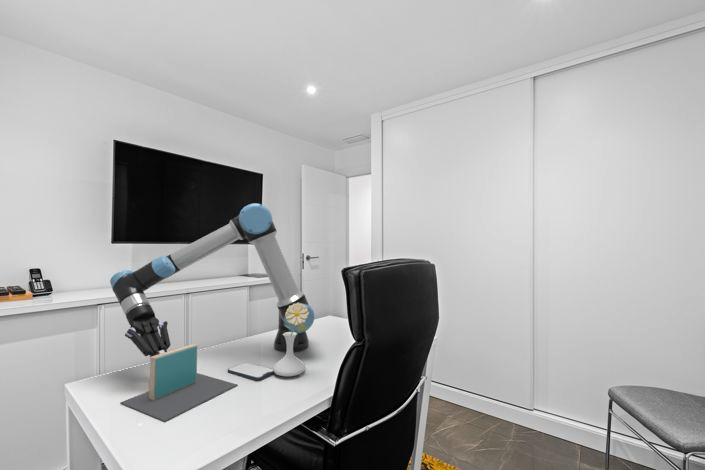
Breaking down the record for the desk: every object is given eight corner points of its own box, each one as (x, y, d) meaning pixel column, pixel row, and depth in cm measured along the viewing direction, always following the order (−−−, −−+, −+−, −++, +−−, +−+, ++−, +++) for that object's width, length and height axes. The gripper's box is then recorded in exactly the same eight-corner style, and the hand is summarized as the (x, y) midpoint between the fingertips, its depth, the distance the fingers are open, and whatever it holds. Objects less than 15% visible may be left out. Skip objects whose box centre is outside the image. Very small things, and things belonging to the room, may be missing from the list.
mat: (195, 373, 112) (195, 372, 112) (237, 385, 103) (237, 384, 103) (120, 403, 91) (120, 402, 91) (164, 422, 82) (164, 420, 82)
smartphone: (225, 374, 114) (258, 383, 106) (225, 369, 114) (258, 378, 106) (245, 366, 122) (277, 374, 114) (245, 361, 122) (277, 369, 114)
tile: (192, 380, 106) (193, 343, 106) (197, 382, 105) (198, 345, 105) (149, 398, 93) (150, 357, 94) (153, 400, 92) (155, 358, 93)
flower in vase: (266, 376, 111) (267, 303, 111) (284, 365, 121) (285, 298, 122) (299, 382, 106) (301, 306, 107) (315, 370, 117) (316, 300, 118)
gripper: (152, 314, 115) (181, 370, 107) (111, 321, 104) (141, 385, 96) (162, 300, 113) (192, 356, 105) (121, 306, 101) (152, 370, 93)
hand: (168, 370), depth 100 cm, fingers closed
